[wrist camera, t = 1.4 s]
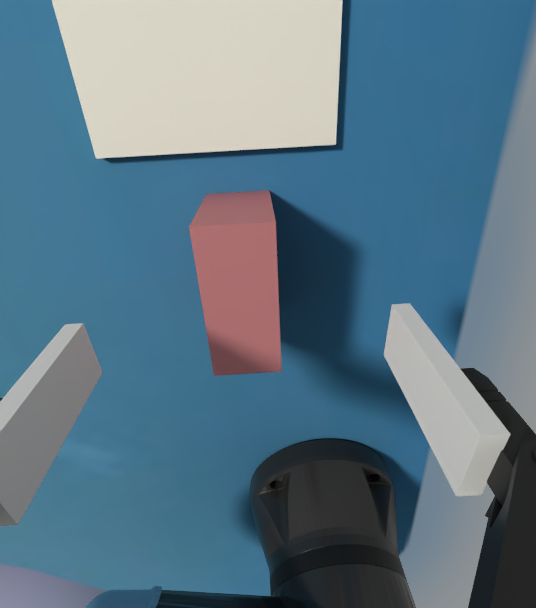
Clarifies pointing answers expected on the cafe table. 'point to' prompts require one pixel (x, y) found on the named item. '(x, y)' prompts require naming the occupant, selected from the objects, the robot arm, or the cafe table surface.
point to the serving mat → (204, 73)
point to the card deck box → (239, 281)
